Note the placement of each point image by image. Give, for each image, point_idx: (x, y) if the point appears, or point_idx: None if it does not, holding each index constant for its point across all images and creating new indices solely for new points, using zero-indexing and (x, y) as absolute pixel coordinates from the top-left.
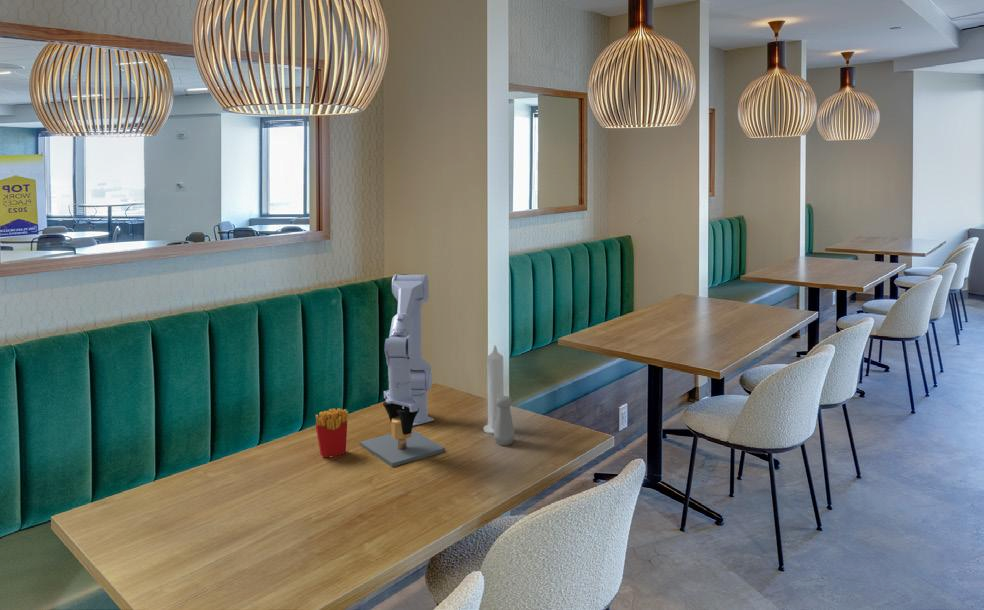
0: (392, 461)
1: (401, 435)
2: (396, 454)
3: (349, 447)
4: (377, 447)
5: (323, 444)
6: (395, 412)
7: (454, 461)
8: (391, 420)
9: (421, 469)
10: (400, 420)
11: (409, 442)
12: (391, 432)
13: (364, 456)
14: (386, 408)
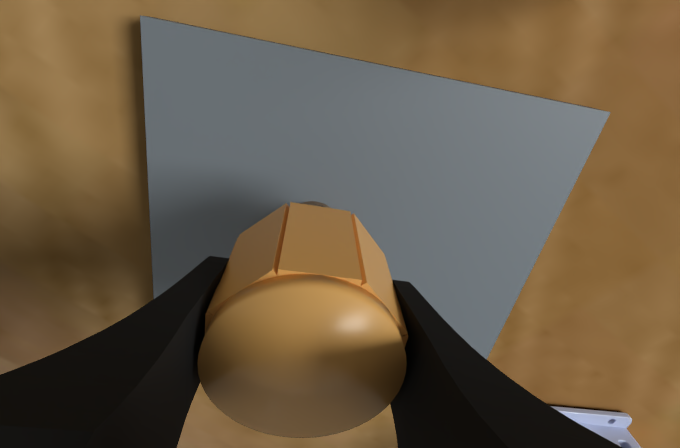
0: (169, 41)
1: (242, 243)
2: (255, 141)
3: (637, 37)
4: (440, 132)
5: None
6: (422, 420)
7: (24, 302)
8: (415, 318)
9: (8, 127)
10: (282, 352)
11: None
12: (350, 226)
13: (443, 4)
14: (524, 416)
